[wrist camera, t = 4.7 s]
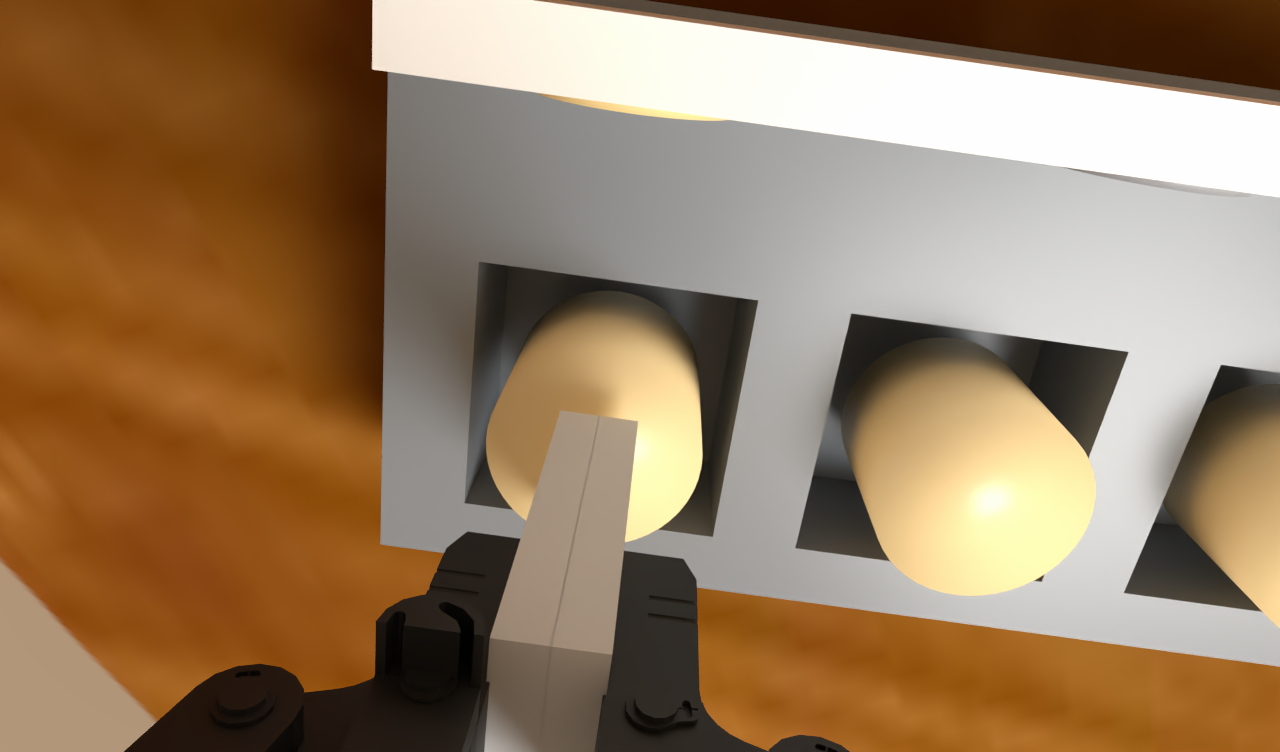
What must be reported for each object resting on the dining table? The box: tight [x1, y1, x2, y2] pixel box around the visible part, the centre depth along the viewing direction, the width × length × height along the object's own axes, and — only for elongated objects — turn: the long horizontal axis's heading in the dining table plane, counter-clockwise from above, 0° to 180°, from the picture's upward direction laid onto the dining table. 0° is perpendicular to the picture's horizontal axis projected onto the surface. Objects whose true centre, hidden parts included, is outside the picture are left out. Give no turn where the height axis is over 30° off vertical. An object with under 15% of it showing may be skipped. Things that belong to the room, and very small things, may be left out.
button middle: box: [841, 337, 1096, 596], centre depth 20 cm, size 4×4×4 cm
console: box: [372, 0, 1280, 666], centre depth 18 cm, size 26×13×12 cm, turn 83°
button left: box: [486, 291, 703, 542], centre depth 19 cm, size 4×4×4 cm
